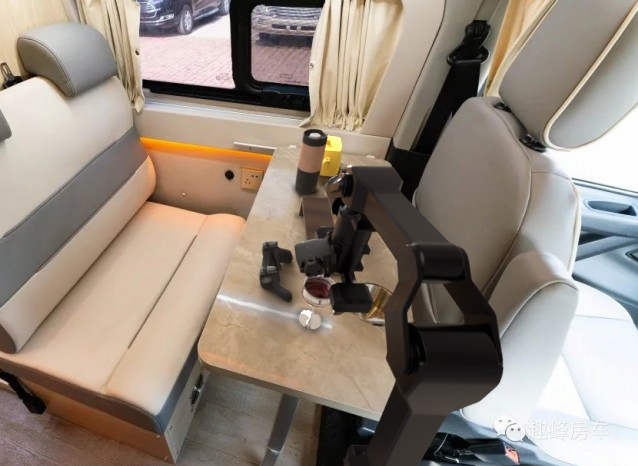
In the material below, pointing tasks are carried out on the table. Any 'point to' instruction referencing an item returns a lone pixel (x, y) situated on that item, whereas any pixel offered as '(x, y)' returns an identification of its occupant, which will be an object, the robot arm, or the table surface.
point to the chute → (316, 216)
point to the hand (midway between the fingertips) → (330, 294)
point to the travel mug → (310, 160)
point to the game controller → (274, 269)
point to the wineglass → (315, 299)
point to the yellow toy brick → (331, 157)
